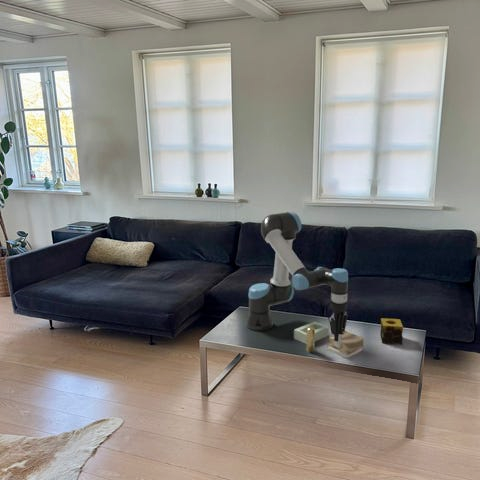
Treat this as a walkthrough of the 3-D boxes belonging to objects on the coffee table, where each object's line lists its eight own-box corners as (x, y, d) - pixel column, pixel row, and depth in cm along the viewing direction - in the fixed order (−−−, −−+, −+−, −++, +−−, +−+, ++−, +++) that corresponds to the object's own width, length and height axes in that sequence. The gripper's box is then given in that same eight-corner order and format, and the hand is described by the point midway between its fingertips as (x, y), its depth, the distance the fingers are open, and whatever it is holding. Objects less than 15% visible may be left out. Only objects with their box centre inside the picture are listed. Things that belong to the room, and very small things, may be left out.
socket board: (294, 338, 240) (294, 329, 239) (314, 329, 250) (314, 321, 249) (308, 344, 233) (308, 335, 232) (328, 335, 243) (328, 327, 242)
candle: (402, 345, 230) (403, 327, 228) (381, 343, 232) (382, 325, 230) (399, 336, 240) (401, 319, 238) (379, 335, 242) (380, 317, 240)
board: (327, 349, 227) (327, 346, 227) (342, 342, 235) (342, 339, 234) (346, 358, 218) (346, 355, 218) (361, 350, 225) (362, 347, 225)
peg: (304, 350, 227) (304, 328, 224) (310, 348, 229) (310, 326, 227) (310, 353, 224) (311, 330, 221) (316, 350, 226) (316, 328, 224)
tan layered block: (328, 346, 227) (329, 337, 226) (343, 339, 235) (344, 330, 234) (348, 354, 218) (348, 345, 217) (363, 346, 226) (363, 338, 225)
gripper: (336, 306, 210) (335, 353, 215) (354, 299, 218) (352, 345, 223) (324, 302, 215) (322, 347, 221) (341, 295, 223) (340, 340, 229)
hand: (337, 346), depth 222 cm, fingers closed
